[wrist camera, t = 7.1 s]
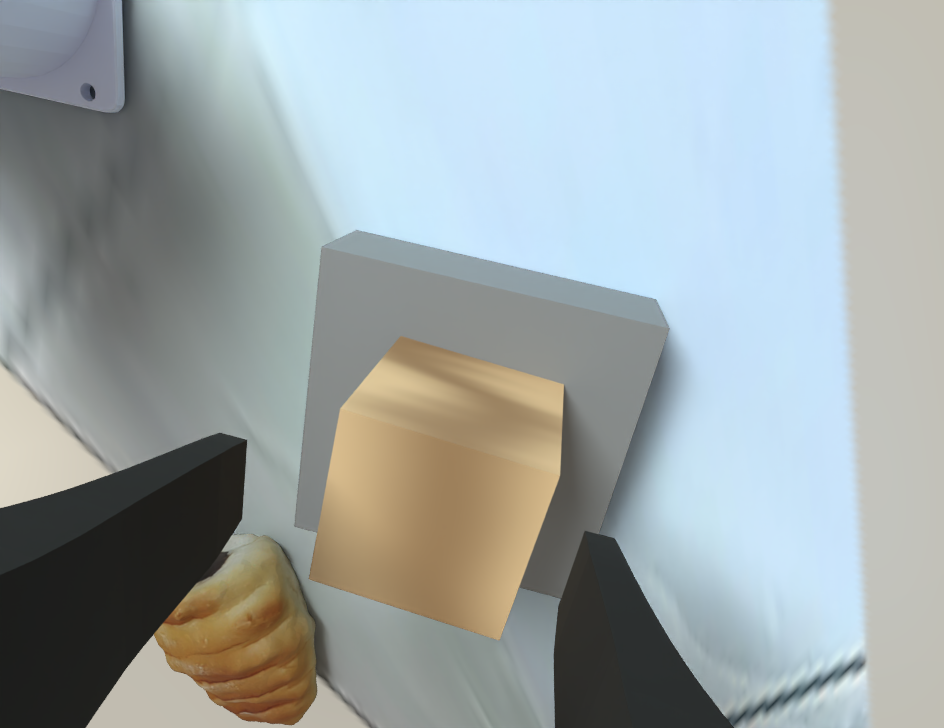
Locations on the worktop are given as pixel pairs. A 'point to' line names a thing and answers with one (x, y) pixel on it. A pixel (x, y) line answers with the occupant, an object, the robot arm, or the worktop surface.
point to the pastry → (246, 634)
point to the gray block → (493, 340)
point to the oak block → (440, 485)
